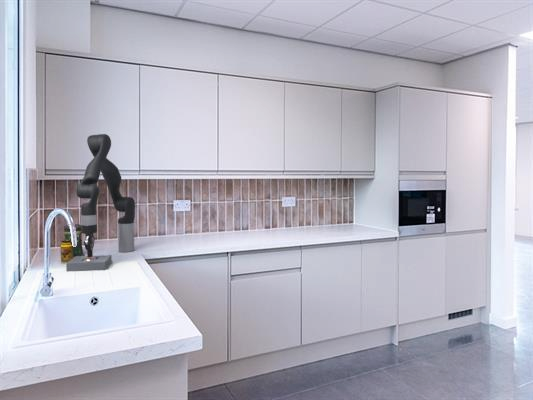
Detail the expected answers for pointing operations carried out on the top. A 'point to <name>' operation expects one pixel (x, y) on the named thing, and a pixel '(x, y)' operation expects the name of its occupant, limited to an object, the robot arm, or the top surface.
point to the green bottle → (78, 249)
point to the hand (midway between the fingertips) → (90, 256)
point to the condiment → (66, 251)
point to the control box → (88, 263)
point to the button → (89, 258)
